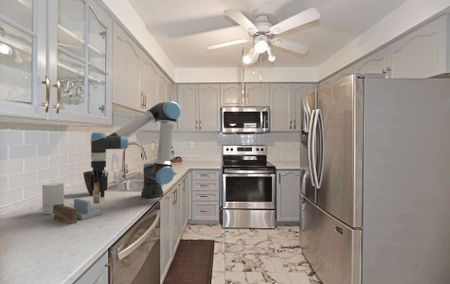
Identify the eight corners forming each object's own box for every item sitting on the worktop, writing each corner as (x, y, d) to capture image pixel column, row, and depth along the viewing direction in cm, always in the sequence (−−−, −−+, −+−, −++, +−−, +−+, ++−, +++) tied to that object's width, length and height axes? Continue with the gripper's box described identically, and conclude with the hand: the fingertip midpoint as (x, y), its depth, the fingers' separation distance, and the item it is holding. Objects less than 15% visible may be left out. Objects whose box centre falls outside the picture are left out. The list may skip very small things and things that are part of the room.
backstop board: (57, 217, 131) (57, 204, 131) (76, 223, 123) (76, 208, 123) (53, 218, 129) (53, 205, 129) (72, 224, 122) (72, 209, 121)
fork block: (87, 210, 143) (87, 196, 143) (101, 213, 137) (101, 199, 137) (68, 215, 134) (67, 200, 133) (82, 219, 128) (81, 203, 128)
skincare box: (51, 214, 136) (51, 185, 135) (41, 214, 137) (41, 185, 137) (64, 210, 144) (64, 182, 143) (54, 209, 145) (54, 182, 145)
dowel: (99, 201, 145) (99, 182, 145) (104, 202, 143) (104, 182, 143) (92, 203, 141) (92, 183, 141) (97, 204, 139) (97, 184, 139)
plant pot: (90, 191, 190) (90, 170, 189) (110, 192, 190) (110, 170, 189) (78, 196, 175) (78, 173, 174) (100, 196, 175) (100, 173, 174)
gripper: (82, 159, 143) (82, 201, 143) (102, 161, 134) (102, 206, 135) (94, 159, 149) (95, 198, 150) (114, 160, 141) (114, 202, 141)
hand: (98, 202), depth 142 cm, fingers closed on dowel, 4 cm apart
